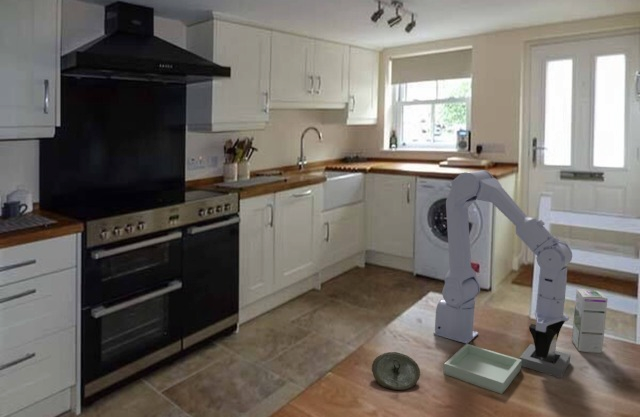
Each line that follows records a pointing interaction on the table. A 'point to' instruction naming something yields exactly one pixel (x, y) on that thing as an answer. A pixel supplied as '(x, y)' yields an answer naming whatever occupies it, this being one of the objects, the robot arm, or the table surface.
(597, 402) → the table surface
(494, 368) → the tray
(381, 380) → the lid
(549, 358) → the pin
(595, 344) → the syrup box
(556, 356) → the holder
